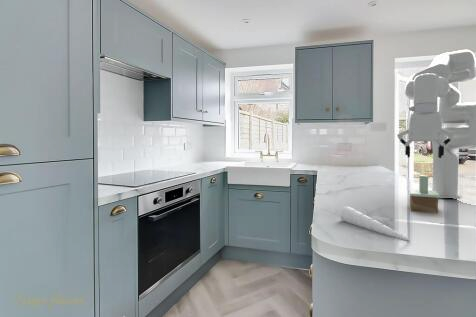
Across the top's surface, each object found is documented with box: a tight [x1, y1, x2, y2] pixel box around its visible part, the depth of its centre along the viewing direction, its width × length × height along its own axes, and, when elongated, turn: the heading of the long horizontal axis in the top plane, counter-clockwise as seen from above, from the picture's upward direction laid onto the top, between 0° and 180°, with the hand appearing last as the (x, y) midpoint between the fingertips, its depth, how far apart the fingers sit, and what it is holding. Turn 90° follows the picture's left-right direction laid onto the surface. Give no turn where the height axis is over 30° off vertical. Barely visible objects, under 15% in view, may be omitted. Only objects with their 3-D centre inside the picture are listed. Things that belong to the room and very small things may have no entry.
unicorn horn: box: [339, 206, 411, 242], centre depth 87 cm, size 5×24×5 cm, turn 18°
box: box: [409, 195, 439, 214], centre depth 111 cm, size 11×8×6 cm
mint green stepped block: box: [408, 174, 440, 199], centre depth 111 cm, size 12×9×8 cm
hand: (423, 157), depth 110 cm, fingers open, 9 cm apart
